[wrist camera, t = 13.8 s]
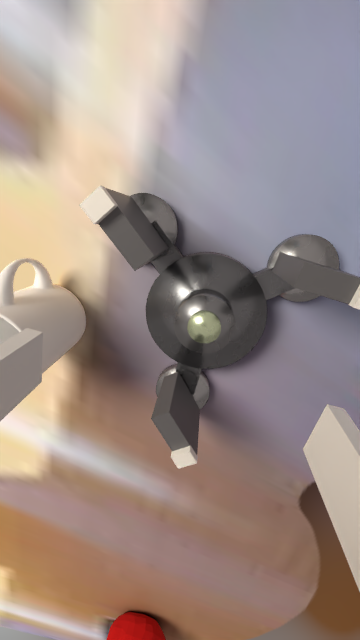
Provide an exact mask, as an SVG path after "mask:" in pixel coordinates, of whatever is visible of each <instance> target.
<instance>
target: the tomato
mask: <svg viewBox="0 0 360 640" xmlns="http://www.w3.org/2000/svg"><path fill="white" fill-rule="evenodd" d="M107 640H166V639H165V636H164V634H163V631H162V630H161V628H160V626H159V624H158V622H157V621H156V620H155V619H153V618H151V617H148V616H146V615H145V614H139V613H133V612H127V613H124V614H122V615H120V616H119V617H118V618H117V619H116V620H115V621H114V622H113V624H112V626H111V627H110V631H109V634H108V637H107Z"/></svg>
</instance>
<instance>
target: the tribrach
mask: <svg viewBox="0 0 360 640" xmlns="http://www.w3.org/2000/svg"><path fill="white" fill-rule="evenodd" d="M130 197H132V198H133V199H134V201H135V202H136V203H137V205H138V206H139V208H140V209H141V210H142V212H143V213H144V214H145V216H146V217H147V219H148V220H149V221H150V223H151V224H152V225H153V227H154V228H155V230H156V231H157V232H158V234H159V235H160V237H161V238H162V239H163V241H164V242H165V243H166V245H167V246H168V249H167V250H165V251H164V252H163V253H161V254H160V255H159V256H158V257H156V258H155V259H154V260H152V261H150V262H151V263H152V264H153V265H154V267H155V268H156V269H157V271H158V272H159V273H160V275H159V277H158V278H157V279H156V280H155V282H154V284H153V285H152V287H151V290H150V292H149V295H148V298H147V303H146V319H147V324H148V328H149V331H150V333H151V336H152V337H153V339H154V341H155V342H156V344H157V345H158V346H159V348H160V349H161V350H162V351H163V352H164V353H165V354H167V355H168V356H169V357H170V358H172V359H174V360H175V361H177V362H178V364H175V365H171V366H169V367H168V368H166V369H165V370H164V371H163V372H162V373H161V374H160V376H159V379H158V382H157V385H156V394H157V397H158V395H159V392H160V388H161V385H162V382H163V379H164V377H165V376H168V375H170V374H173V373H175V372H179V374H180V376H181V377H182V379H183V381H184V382H185V384H186V386H187V388H188V389H189V391H190V393H191V395H192V396H193V398H194V400H195V402H196V403H197V405H198V407H199V408H200V409H201V408H202V407H204V405H205V404H206V403H207V401H208V398H209V382H208V379H207V377H206V375H205V374H204V373H203V372H202V371H201V370H202V369H213V368H220V367H223V366H227V365H230V364H232V363H234V362H236V361H238V360H240V359H241V358H243V357H244V356H245V355H247V354H248V353H249V352H250V351H251V350H252V349H253V348H254V347H255V345H256V344H257V342H258V341H259V339H260V338H261V336H262V333H263V331H264V328H265V325H266V319H267V305H266V300H268V299H271V298H273V297H276V296H278V295H280V296H281V297H283V298H285V299H287V300H290V301H294V302H304V301H309V300H312V299H315V298H317V297H319V296H320V295H317V294H314V293H311V292H307V291H304V290H301V289H297V288H294V287H292V286H291V285H290V284H288V283H287V282H286V281H284V280H283V279H282V278H280V277H279V276H278V275H276V274H275V273H274V272H273V271H272V270H273V267H274V265H275V262H276V260H277V258H278V255H279V253H280V252H282V253H285V254H289V255H292V256H295V257H299V258H302V259H305V260H308V261H312V262H315V263H318V264H322V265H325V266H328V267H331V268H335V269H338V270H339V258H338V254H337V252H336V250H335V248H334V247H333V245H332V244H331V243H330V242H329V241H327V240H326V239H324V238H322V237H319V236H315V235H307V234H302V235H296V236H293V237H290V238H288V239H286V240H284V241H283V242H281V243H280V244H279V245H278V246H277V247H276V248H275V249H274V251H273V252H272V254H271V255H270V258H269V260H268V263H267V268H265V269H263V270H260V271H258V272H256V273H254V274H252V273H251V272H250V271H249V270H248V269H247V268H246V267H245V266H244V265H243V264H241V263H240V262H238V261H237V260H235V259H233V258H231V257H229V256H227V255H223V254H220V253H214V252H199V253H194V254H190V255H187V256H184V257H183V255H182V254H181V252H180V251H179V250H178V248H177V247H176V245H175V242H176V239H177V235H178V223H177V219H176V216H175V214H174V212H173V210H172V209H171V207H170V206H169V205H168V204H167V203H166V202H165V201H164V200H162V199H161V198H159V197H157V196H155V195H152V194H148V193H138V194H134V195H131V196H130Z"/></svg>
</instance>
